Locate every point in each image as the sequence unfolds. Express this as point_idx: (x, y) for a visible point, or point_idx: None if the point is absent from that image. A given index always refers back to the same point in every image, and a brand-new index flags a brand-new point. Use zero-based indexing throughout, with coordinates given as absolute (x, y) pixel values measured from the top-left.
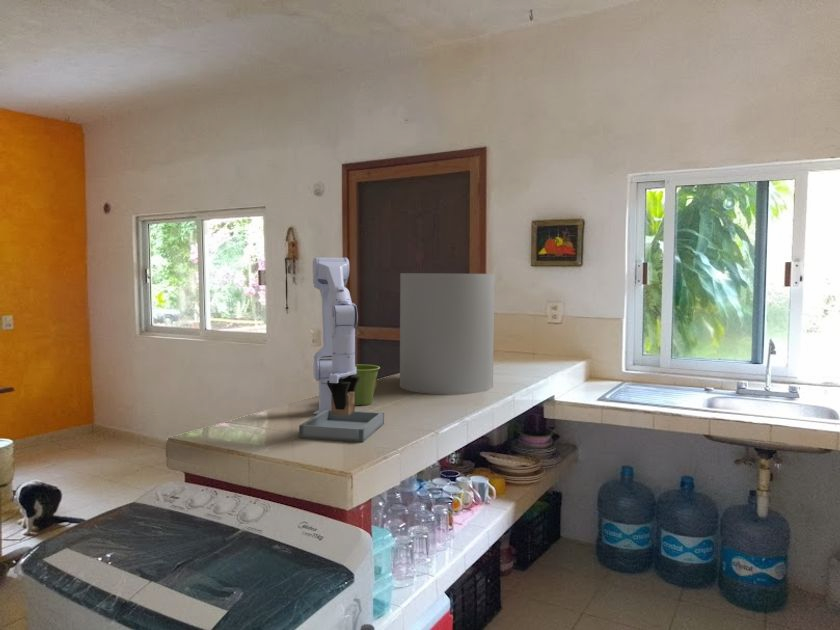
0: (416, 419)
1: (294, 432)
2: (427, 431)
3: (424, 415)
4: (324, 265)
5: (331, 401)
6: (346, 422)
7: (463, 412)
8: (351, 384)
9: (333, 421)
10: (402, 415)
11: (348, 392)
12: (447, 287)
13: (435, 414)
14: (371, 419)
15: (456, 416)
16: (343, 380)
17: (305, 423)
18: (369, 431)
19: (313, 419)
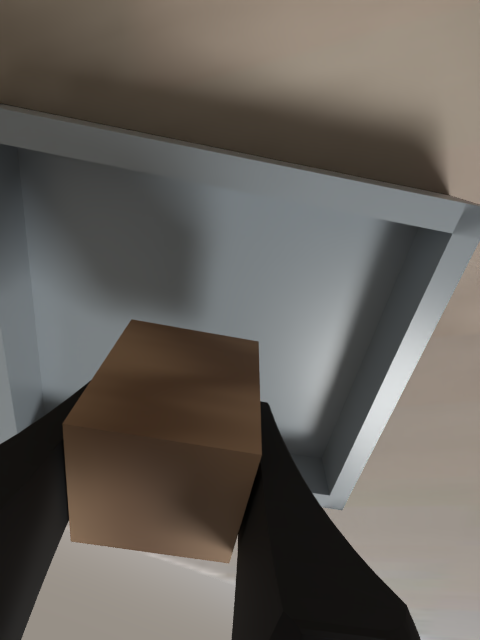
0: (396, 546)
1: (114, 21)
2: (224, 565)
3: (456, 564)
4: None
5: (95, 375)
6: (325, 331)
7: (472, 636)
8: (236, 628)
9: (355, 257)
10: (476, 512)
11: (193, 532)
12: None
13: (464, 587)
14: None
15: (419, 622)
16: (254, 637)
17: (7, 134)
18: None
19: (142, 171)
